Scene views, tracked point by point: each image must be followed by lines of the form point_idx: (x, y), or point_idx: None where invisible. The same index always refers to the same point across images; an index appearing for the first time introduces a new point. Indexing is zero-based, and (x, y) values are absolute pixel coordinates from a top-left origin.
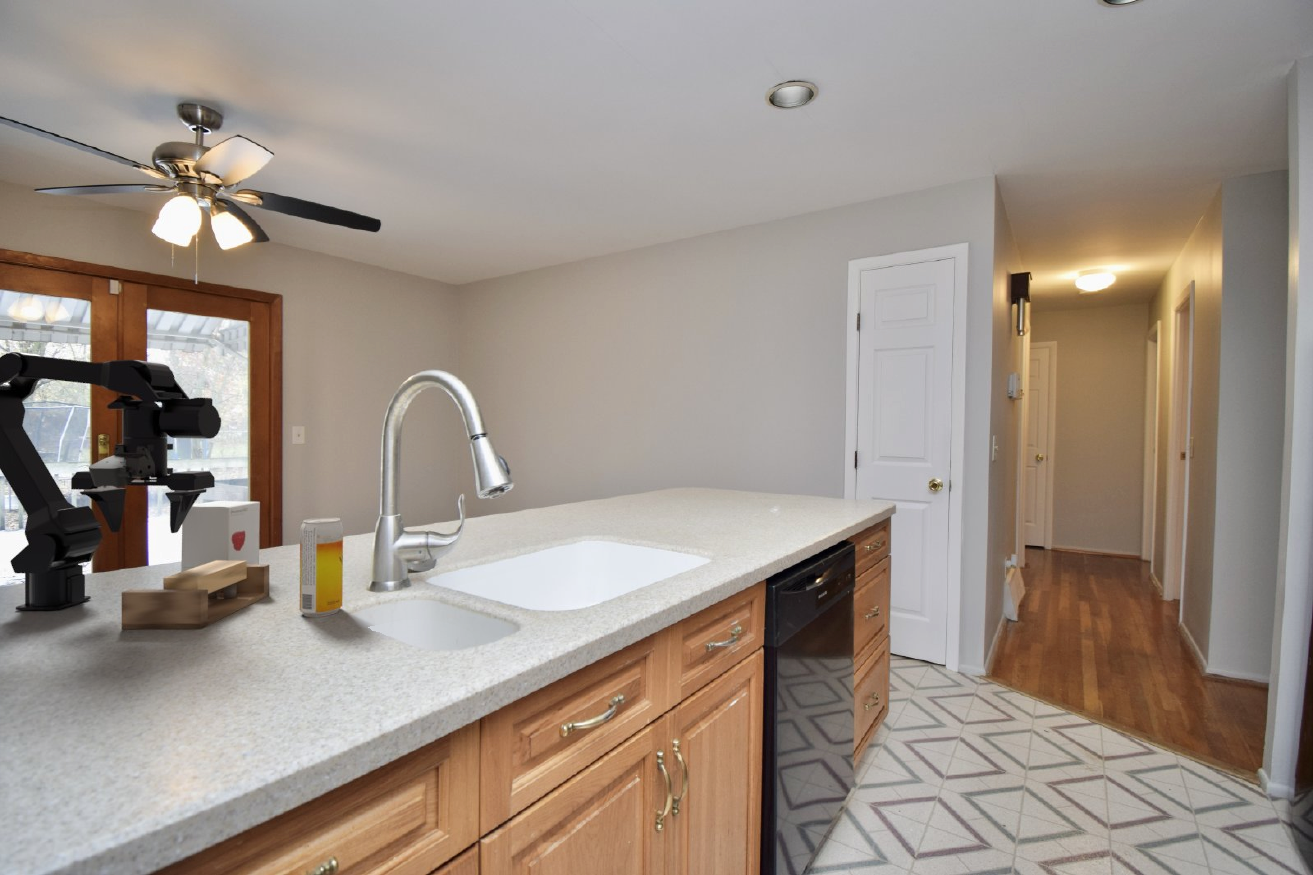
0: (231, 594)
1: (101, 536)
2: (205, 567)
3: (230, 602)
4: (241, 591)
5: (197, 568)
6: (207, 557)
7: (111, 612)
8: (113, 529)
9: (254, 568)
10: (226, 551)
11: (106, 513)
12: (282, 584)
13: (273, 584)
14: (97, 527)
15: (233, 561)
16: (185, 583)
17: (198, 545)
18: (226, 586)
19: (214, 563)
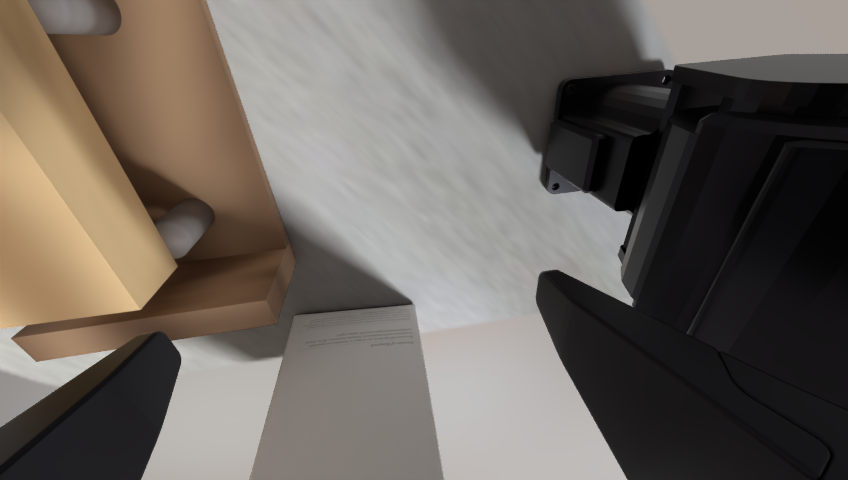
0: None
1: (640, 309)
2: (1, 197)
3: None
4: None
5: (15, 174)
6: (339, 375)
7: (398, 82)
8: (552, 280)
9: (57, 327)
10: (273, 403)
11: (683, 356)
12: (193, 360)
13: (216, 356)
14: (688, 329)
15: (39, 308)
16: None
17: (369, 407)
18: None
19: (72, 268)
